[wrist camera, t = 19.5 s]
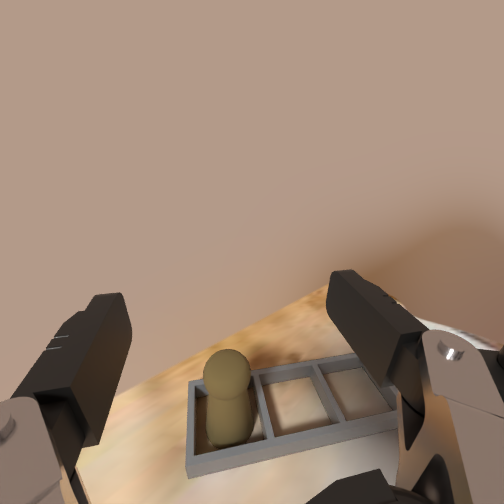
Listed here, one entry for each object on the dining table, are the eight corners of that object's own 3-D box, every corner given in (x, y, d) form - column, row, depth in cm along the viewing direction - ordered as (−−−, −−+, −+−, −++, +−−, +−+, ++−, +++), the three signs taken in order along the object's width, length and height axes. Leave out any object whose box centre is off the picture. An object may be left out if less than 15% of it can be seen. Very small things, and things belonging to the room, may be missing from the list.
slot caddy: (363, 361, 39) (367, 350, 38) (409, 425, 30) (415, 413, 29) (190, 393, 34) (188, 381, 33) (188, 479, 25) (185, 467, 24)
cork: (217, 394, 34) (212, 335, 29) (259, 407, 32) (261, 347, 27) (196, 441, 29) (186, 379, 24) (244, 459, 27) (244, 397, 22)
